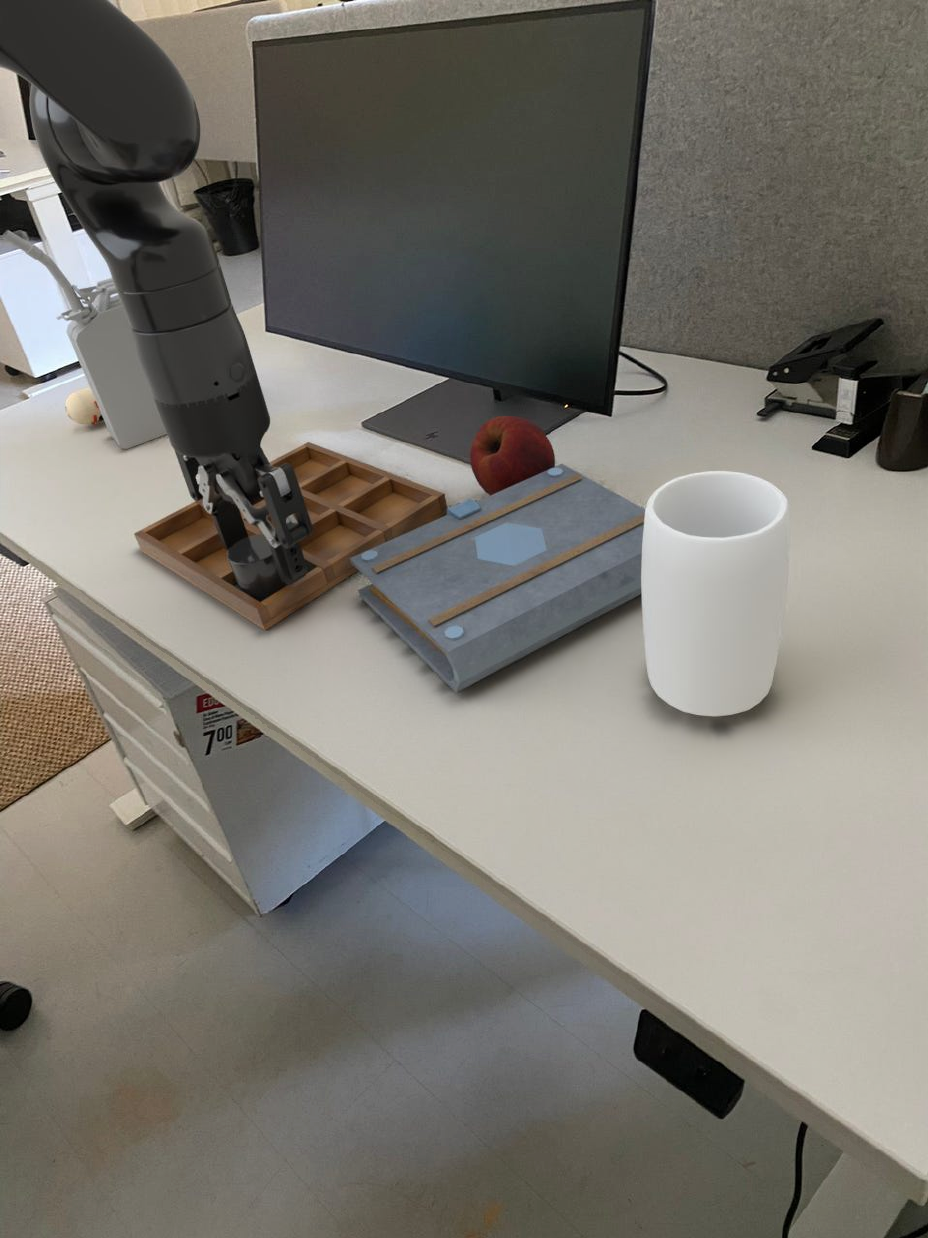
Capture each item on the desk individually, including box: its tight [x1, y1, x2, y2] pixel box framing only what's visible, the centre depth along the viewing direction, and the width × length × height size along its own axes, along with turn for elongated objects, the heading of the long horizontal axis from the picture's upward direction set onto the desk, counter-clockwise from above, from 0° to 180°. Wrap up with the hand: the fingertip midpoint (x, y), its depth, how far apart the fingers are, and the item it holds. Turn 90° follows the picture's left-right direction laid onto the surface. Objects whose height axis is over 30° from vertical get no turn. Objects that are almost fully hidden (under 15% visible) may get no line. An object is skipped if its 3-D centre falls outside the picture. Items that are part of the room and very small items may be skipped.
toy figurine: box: [64, 386, 104, 425], centre depth 110 cm, size 8×4×12 cm
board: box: [133, 441, 448, 631], centre depth 81 cm, size 21×21×2 cm
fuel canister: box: [1, 229, 167, 450], centre depth 98 cm, size 15×5×25 cm, turn 123°
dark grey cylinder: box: [227, 534, 288, 602], centre depth 72 cm, size 4×4×4 cm
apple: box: [469, 415, 556, 496], centre depth 79 cm, size 7×8×8 cm
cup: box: [641, 470, 791, 717], centre depth 54 cm, size 8×8×14 cm
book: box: [350, 463, 646, 693], centre depth 68 cm, size 21×16×5 cm
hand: (265, 562), depth 72 cm, fingers open, 8 cm apart
